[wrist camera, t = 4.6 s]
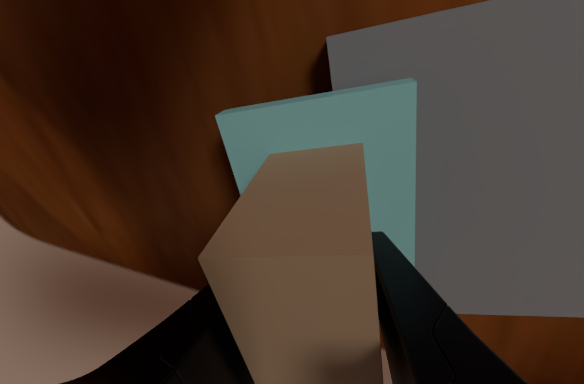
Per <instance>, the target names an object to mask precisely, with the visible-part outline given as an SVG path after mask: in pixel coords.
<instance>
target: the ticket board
mask: <svg viewBox="0 0 584 384" xmlns="http://www.w3.org/2000/svg"><path fill="white" fill-rule="evenodd" d="M326 40H327V49H328V57H329V65H330V73H331V82H332V90H333V91H337V90H342V89H348V88H354V87H360V86H366V85H371V84H377V83H383V82H389V81H395V80H400V79H406V78H413V79H414V80H415V81H417V108H416V192H415V268H416V269H417V270H418V271H419V273H420V274H421V275H422V276H423V277H424V278H425V279H426V280H427V282H428V283H429V284H430V285H431V286H432V287H433V288H434V290H435V291H436V292H437V293H438V294H439V295H440V296H441V297H442V299H443V300H444V301H445V302H446V303H447V305H448V306H450V307H451V309H452V310H453V311H454V312H455V313H456V314H484V315H517V316H551V317H584V0H489V1H485V2H480V3H476V4H471V5H467V6H462V7H458V8H453V9H449V10H444V11H440V12H435V13H431V14H427V15H422V16H418V17H413V18H409V19H404V20H400V21H395V22H391V23H386V24H382V25H377V26H373V27H369V28H364V29H360V30H355V31H351V32H346V33H342V34H337V35H333V36H328V37H326Z"/></svg>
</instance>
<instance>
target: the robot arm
mask: <svg viewBox="0 0 584 384" xmlns="http://www.w3.org/2000/svg"><path fill="white" fill-rule="evenodd" d="M371 233H372V244H373V255H374V268H375V281H376V294H377V307H378V318H379V322H380V327H381V332H382V336H383V341H384V346H385V350H386V355H387V360H388V364H389V369H390V373H391V378H392V383H393V384H527V383H526V382H525V381H524V380H523V379H522V378H521V377H520V376H519V375H518V374H517V373H516V372H514V371H513V370H512V369H511V368H510V367H509V366H508V365H507V364H506V363H505V362H504V361H503V360H502V359H500V358H499V357H498V356H497V355H496V354H495V353H494V352H493V351H492V350H491V349H490V348H489V347H488V346H487V345H486V344H485V343H484V342H483V341H482V340H480V339H479V338H478V337H477V336H476V335H475V334H474V333H473V331H472V330H471V329H470V328H469V327H468V326H467V325H466V324H465V323H464V322H463V321H462V320H461V319H460V318H459V316H458V315H457V314H456V313H455V312H454V311H453V310H452V309H451V307H450V306H448V305H447V303H446V302H445V301H444V300H443V299H442V297H441V296H440V295H439V294H438V293H437V292H436V291H435V290H434V288H433V287H432V286H431V285H430V284H429V283H428V282H427V280H426V279H425V278H424V277H423V276H422V275H421V274H420V273H419V271H418V270H417V269H416V268H415V267H414V266H413V265H412V264H411V262H410V261H409V260H408V259H407V258H406V257H405V256H404V255H403V253H402V252H401V251H400V250H399V249H398V248H397V247H396V246H395V244H394V243H393V242H392V241H391V240H390V239H389V238H388V236H387V235H386V234H385V233H384V232H382V231H376V232H371ZM60 384H255V383H254V381H253V378H252V376H251V374H250V372H249V370H248V367H247V365H246V363H245V361H244V359H243V356H242V354H241V352H240V350H239V348H238V346H237V343H236V341H235V339H234V337H233V335H232V332H231V330H230V328H229V326H228V324H227V321H226V319H225V317H224V315H223V313H222V311H221V308H220V306H219V304H218V302H217V300H216V297H215V295H214V293H213V291H212V289H211V286H210V284H208V285H207V286H206V287H204V288H203V289H202V290H201V291H200V292H198V293H197V294H196V295H195V296H193V297H192V299H191V300H189V301H187V302H186V303H185V304H184V305H183V306H181V307H180V308H179V309H178V310H176V311H175V312H174V313H173V314H172V315H170V316H169V317H168V318H166V319H165V320H164V321H162V322H161V323H160V324H159V325H157V326H156V327H155V328H153V329H152V330H150V331H149V332H148V333H146V334H145V335H144V336H142V337H141V338H140V339H138V340H137V341H136V342H134V343H132V344H131V345H130V346H128V347H127V348H126V349H124V350H123V351H121V352H120V353H119V354H117V355H116V356H115V357H113V358H112V359H111V360H109V361H108V362H106V363H105V364H103V365H102V366H100V367H99V368H97V369H96V370H94V371H92V372H90V373H88V374H86V375H84V376H82V377H79V378H77V379H74V380H71V381H68V382H64V383H60Z"/></svg>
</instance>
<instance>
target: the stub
mask: <svg viewBox="0 0 584 384" xmlns="http://www.w3.org/2000/svg"><path fill="white" fill-rule="evenodd" d="M416 108H417V81H415V80H414V79H413V78H406V79H400V80H395V81H389V82H383V83H377V84H371V85H366V86H360V87H354V88H348V89H342V90H337V91H331V92H325V93H319V94H314V95H308V96H302V97H296V98H290V99H285V100H279V101H273V102H267V103H261V104H256V105H250V106H244V107H238V108H232V109H227V110H224V111H222V112H220V113H219V114H217V115H215V118H216V121H217V124H218V127H219V130H220V133H221V136H222V139H223V142H224V146H225V149H226V152H227V155H228V158H229V161H230V164H231V167H232V170H233V174H234V177H235V180H236V183H237V186H238V189H239V192H240V195H241V196H240V198H239V199H238V201H237V202H236V203H235V205H234V206H233V208H232V209H231V211H230V212H229V214H228V215H227V216H226V218H225V219H224V221H223V222H222V224H221V225H220V227H219V228H218V229H217V231H216V232H215V234H214V235H213V237H212V238H211V240H210V241H209V242H208V244H207V245H206V247H205V248H204V250H203V251H202V253H201V254H200V256H199V257H198V260H199V262H200V265H201V267H202V269H203V271H204V273H205V276H206V278H207V280H208V282H209V284H210V286H211V289H212V291H213V293H214V295H215V297H216V300H217V302H218V304H219V306H220V308H221V311H222V313H223V315H224V317H225V319H226V321H227V324H228V326H229V328H230V330H231V332H232V335H233V337H234V339H235V341H236V343H237V346H238V348H239V350H240V352H241V354H242V356H243V359H244V361H245V363H246V365H247V367H248V370H249V372H250V374H251V376H252V378H253V381H254V383H255V384H383V372H382V359H381V346H380V333H379V320H378V307H377V294H376V281H375V268H374V255H373V244H372V233H371V232H376V231H382V232H384V233H385V234H386V235H387V236H388V238H389V239H390V240H391V241H392V242H393V243H394V244H395V246H396V247H397V248H398V249H399V250H400V251H401V252H402V253H403V255H404V256H405V257H406V258H407V259H408V260H409V261H410V262H411V264H412V265H413V266H414V267H415V192H416Z"/></svg>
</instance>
